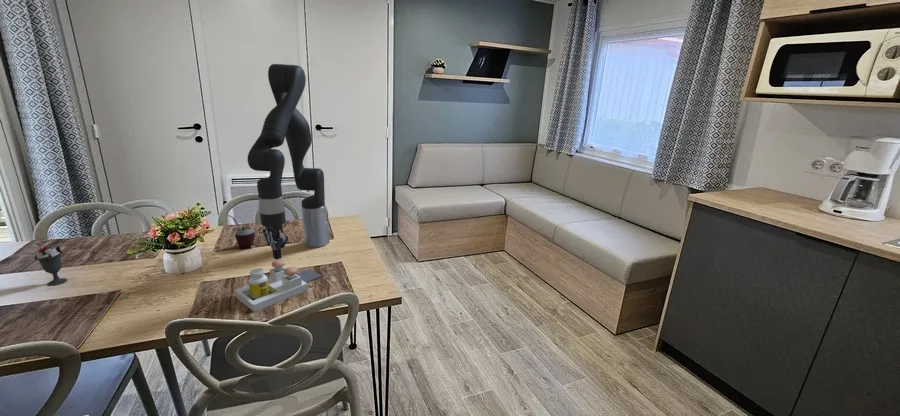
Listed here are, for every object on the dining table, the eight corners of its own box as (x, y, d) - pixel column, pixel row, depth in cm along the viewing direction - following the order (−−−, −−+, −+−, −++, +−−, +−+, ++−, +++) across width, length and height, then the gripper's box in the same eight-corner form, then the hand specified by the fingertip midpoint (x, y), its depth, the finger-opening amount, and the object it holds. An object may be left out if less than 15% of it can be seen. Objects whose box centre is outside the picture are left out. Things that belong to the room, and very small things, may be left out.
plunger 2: (294, 275, 132) (292, 265, 130) (300, 279, 129) (299, 269, 128) (282, 280, 129) (281, 269, 128) (289, 284, 126) (288, 273, 125)
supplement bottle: (262, 303, 123) (258, 276, 120) (247, 301, 124) (243, 273, 121) (273, 295, 128) (269, 268, 125) (258, 292, 129) (254, 266, 126)
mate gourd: (259, 246, 164) (255, 212, 160) (241, 252, 158) (236, 217, 153) (249, 242, 168) (244, 209, 163) (231, 248, 162) (225, 214, 157)
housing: (287, 277, 140) (286, 263, 138) (307, 289, 132) (306, 275, 130) (235, 297, 126) (233, 282, 124) (254, 312, 118) (252, 296, 117)
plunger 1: (281, 268, 136) (280, 258, 135) (287, 272, 134) (286, 262, 133) (270, 272, 133) (269, 262, 132) (276, 276, 131) (275, 266, 130)
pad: (309, 269, 146) (309, 268, 145) (322, 276, 141) (321, 275, 141) (289, 277, 140) (289, 276, 140) (301, 284, 135) (301, 283, 135)
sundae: (40, 288, 127) (25, 246, 123) (48, 279, 133) (35, 239, 128) (66, 284, 130) (54, 243, 126) (73, 276, 136) (61, 236, 131)
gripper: (293, 211, 126) (298, 260, 131) (272, 203, 133) (278, 249, 139) (271, 217, 120) (276, 268, 125) (250, 208, 128) (257, 256, 133)
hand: (277, 258), depth 132 cm, fingers closed
